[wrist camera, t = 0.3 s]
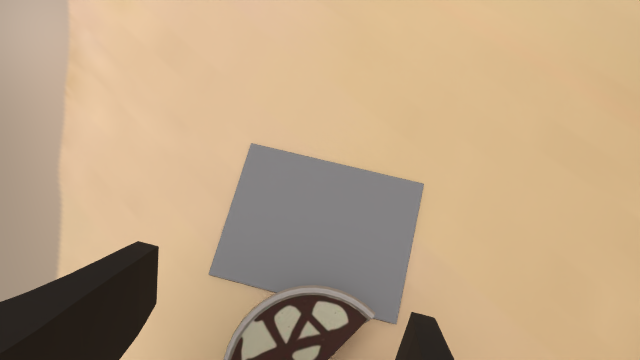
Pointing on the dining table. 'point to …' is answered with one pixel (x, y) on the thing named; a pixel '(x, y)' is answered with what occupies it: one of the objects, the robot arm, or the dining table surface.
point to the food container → (298, 325)
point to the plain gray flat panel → (319, 229)
